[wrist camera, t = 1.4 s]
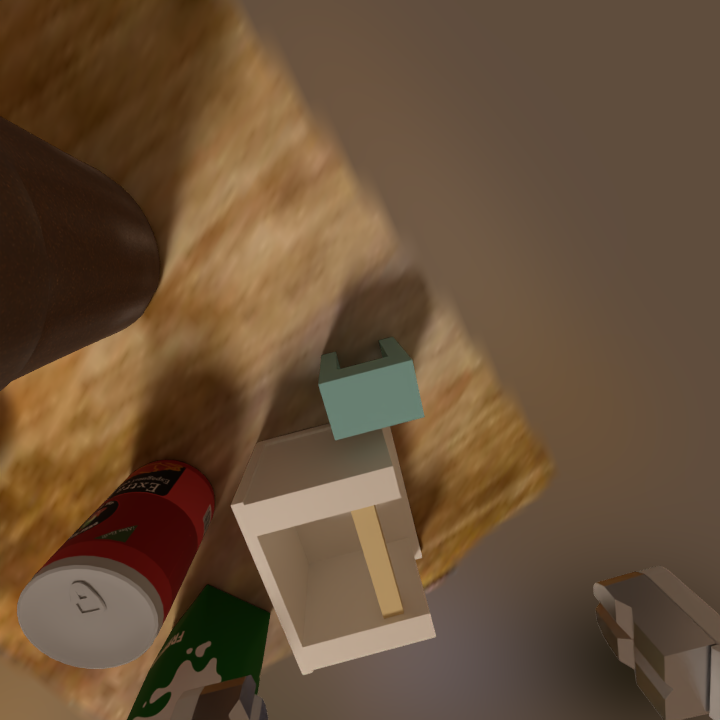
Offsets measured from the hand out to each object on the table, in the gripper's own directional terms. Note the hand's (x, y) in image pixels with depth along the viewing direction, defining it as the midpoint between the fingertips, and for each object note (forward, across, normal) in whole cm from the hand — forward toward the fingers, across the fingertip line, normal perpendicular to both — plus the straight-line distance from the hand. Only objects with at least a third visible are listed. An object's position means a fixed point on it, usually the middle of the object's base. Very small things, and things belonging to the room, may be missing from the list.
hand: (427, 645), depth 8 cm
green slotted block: (+21, 0, 0) cm, 21 cm away
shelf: (+22, +4, +12) cm, 25 cm away
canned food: (+22, +19, +6) cm, 29 cm away
